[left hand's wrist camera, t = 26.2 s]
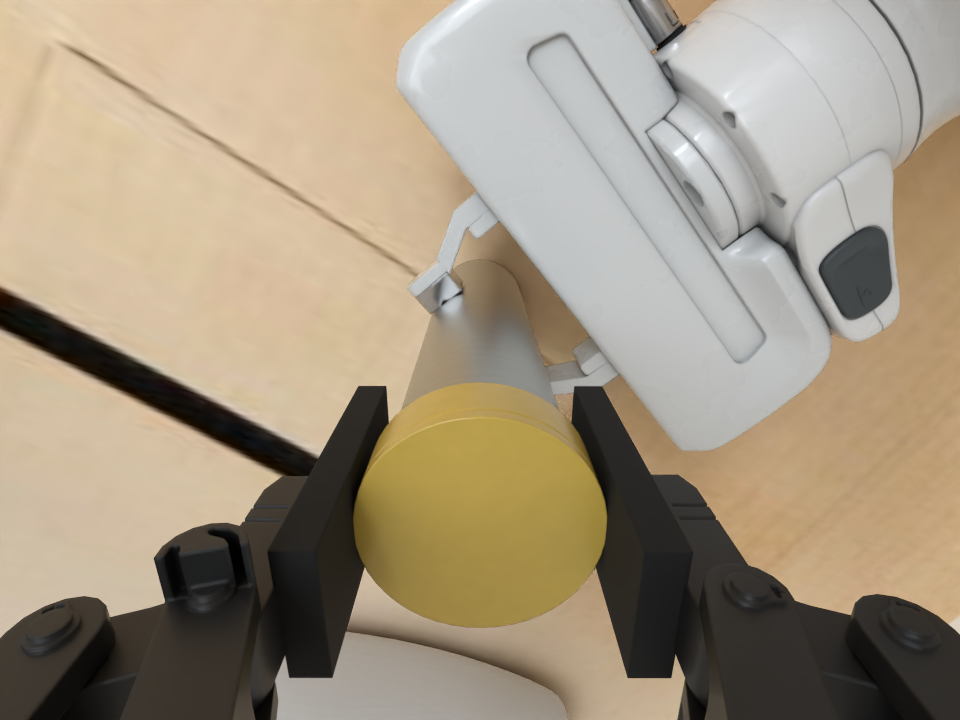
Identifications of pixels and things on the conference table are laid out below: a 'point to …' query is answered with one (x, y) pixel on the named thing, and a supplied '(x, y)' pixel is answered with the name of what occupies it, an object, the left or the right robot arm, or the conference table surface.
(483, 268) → the bottle
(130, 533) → the conference table surface
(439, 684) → the projector
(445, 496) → the lid
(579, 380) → the right robot arm
